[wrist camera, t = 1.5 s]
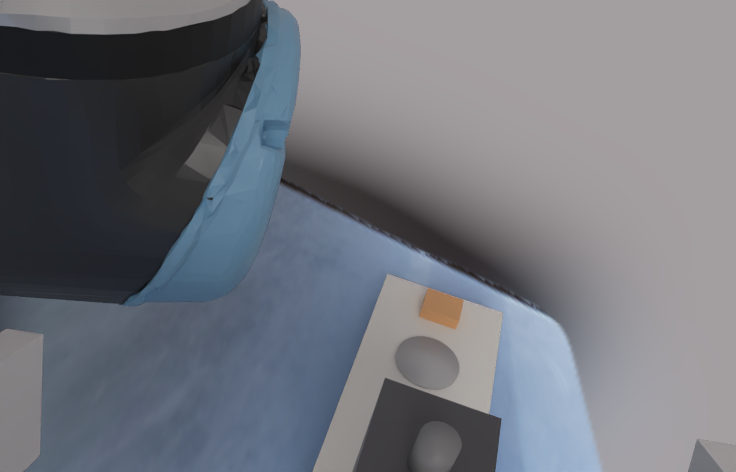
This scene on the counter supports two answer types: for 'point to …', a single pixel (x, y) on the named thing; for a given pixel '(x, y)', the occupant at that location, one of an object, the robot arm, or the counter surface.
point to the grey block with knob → (426, 434)
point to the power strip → (414, 360)
